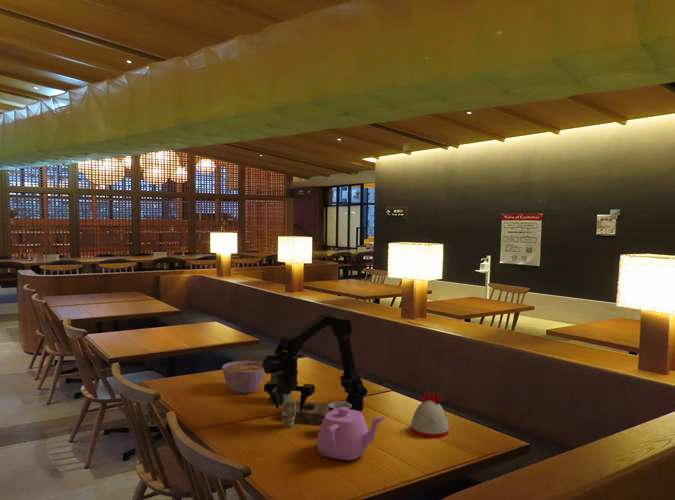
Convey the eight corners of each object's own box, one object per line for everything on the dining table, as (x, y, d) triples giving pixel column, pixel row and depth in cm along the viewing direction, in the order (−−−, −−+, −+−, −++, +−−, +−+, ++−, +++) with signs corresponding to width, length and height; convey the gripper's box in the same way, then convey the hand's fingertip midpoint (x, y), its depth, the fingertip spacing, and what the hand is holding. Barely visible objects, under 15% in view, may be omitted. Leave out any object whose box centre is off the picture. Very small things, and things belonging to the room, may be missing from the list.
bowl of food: (275, 389, 247) (275, 364, 247) (245, 400, 230) (245, 374, 230) (242, 382, 258) (243, 358, 257) (212, 392, 241) (212, 367, 240)
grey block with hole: (333, 414, 215) (333, 404, 215) (325, 425, 203) (325, 414, 203) (291, 410, 219) (291, 400, 219) (280, 420, 208) (281, 410, 208)
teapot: (304, 462, 170) (305, 416, 170) (329, 439, 190) (330, 397, 189) (372, 476, 162) (373, 427, 162) (391, 449, 182) (392, 406, 181)
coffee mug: (334, 438, 191) (335, 410, 191) (323, 429, 199) (324, 403, 198) (362, 432, 196) (363, 406, 196) (351, 425, 204) (351, 399, 204)
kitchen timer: (445, 440, 191) (446, 399, 190) (407, 434, 195) (408, 394, 195) (451, 427, 204) (452, 388, 203) (415, 422, 208) (416, 384, 208)
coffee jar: (266, 400, 232) (267, 357, 231) (282, 397, 236) (283, 355, 236) (278, 406, 224) (278, 362, 223) (294, 403, 229) (294, 360, 228)
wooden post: (295, 424, 203) (296, 401, 203) (292, 428, 199) (292, 405, 199) (285, 423, 204) (285, 400, 204) (281, 427, 200) (281, 403, 200)
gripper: (258, 373, 195) (257, 414, 196) (306, 377, 191) (306, 420, 191) (269, 365, 206) (269, 405, 207) (315, 369, 202) (315, 410, 202)
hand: (289, 410), depth 202 cm, fingers open, 9 cm apart
